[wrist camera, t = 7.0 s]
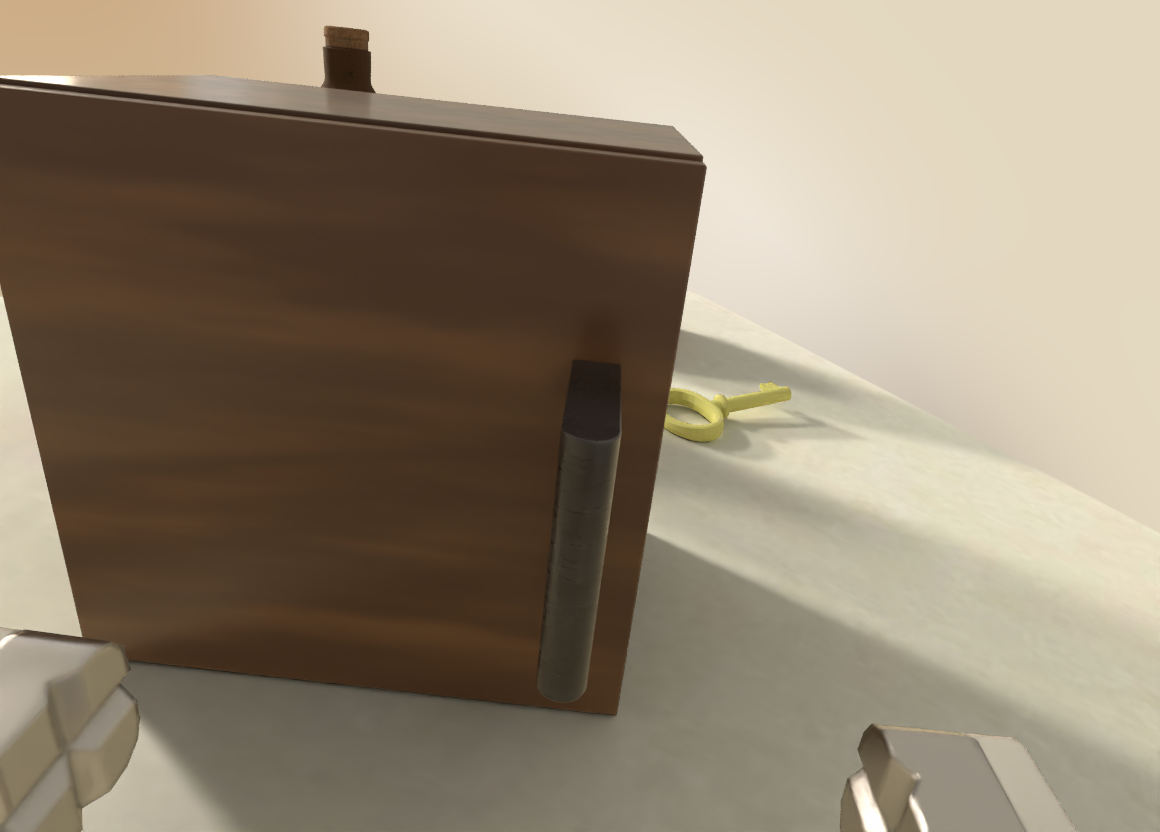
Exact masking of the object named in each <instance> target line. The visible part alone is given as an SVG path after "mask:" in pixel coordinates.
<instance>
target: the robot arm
mask: <svg viewBox="0 0 1160 832" xmlns="http://www.w3.org/2000/svg"><path fill="white" fill-rule="evenodd" d="M129 671H130V666H129V662H128V658H127V654H126V651H125V647H124V646H123V645H120V644H117V643H115V642H112V641H105V640H98V639H90V638H83V637H75V636H68V635H61V634H53V633H46V632H39V631H31V630H17V629H9V628H2V627H0V832H81V831H82V808H83V807H85V806H87V805H88V804H90V803H92V802H93V801H95V800H96V799H98V798H100V797H101V796H103V795H105V794H106V793H108V792H109V791H111V789H112V788H113V786H114V785H115V783H116V782H117V781H118V779H119V778H120V776H121V775H122V773H123V772H124V770H125V769H126V768H127V766H128V763H129V760H130V758H131V755H132V753H133V750H134V748H135V745H136V742H137V740H138V733H139V723H140V715H139V710H138V704H137V700H136V699H135V698H134V697H133V696H132V695H131V694H130V693H129V692H128V691H127V690H126V689H125V688H124V687H123V686H122V685H121V684H120V682H121V681H122V680H123V678H124V677H125V676H126V675H127V673H128V672H129ZM858 752H859V755H860V758H861V761H862V763H863V766H864V767H863V768H862V769H861V770H859V771H858V772H856V773H855V774H853V775H852V776H851V777H849V778H848V779H847V782H846V785H845V789H844V792H843V796H842V799H841V813H840V831H841V832H1078V831H1077V830H1076V828H1075V827H1074V825H1073V823H1072V822H1071V820H1070V818H1069V817H1068V815H1067V814H1066V812H1065V810H1064V809H1063V807H1062V805H1061V804H1060V802H1059V801H1058V799H1057V797H1056V796H1055V794H1054V792H1053V791H1052V789H1051V788H1050V786H1049V784H1048V783H1047V781H1046V779H1045V778H1044V776H1043V775H1042V773H1041V771H1040V770H1039V768H1038V766H1037V765H1036V763H1035V762H1034V760H1033V758H1032V757H1031V755H1030V753H1029V752H1028V750H1027V749H1026V748H1025V746H1024V745H1022V744H1021V743H1020V742H1019V741H1017V740H1016V739H1015V738H1010V737H1000V736H990V735H980V734H970V733H966V734H962V733H959V732H949V731H938V730H928V729H918V728H908V727H898V726H888V725H878V724H871V725H870V726H869V727H868V728H867V729H866V730H865V731H864V733H863V736H862V738H861V741H860V744H859V747H858Z"/></svg>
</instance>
